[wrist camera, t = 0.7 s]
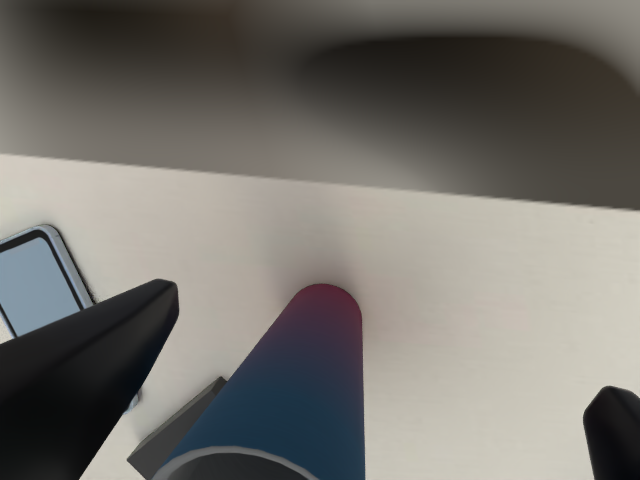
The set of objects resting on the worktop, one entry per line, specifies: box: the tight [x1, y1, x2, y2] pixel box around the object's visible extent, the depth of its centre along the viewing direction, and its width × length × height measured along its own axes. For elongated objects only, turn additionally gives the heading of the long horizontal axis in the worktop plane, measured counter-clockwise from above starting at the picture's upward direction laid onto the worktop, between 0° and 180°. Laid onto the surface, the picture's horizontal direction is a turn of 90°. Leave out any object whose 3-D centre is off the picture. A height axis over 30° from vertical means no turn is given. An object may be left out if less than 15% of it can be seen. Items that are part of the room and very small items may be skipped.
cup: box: [151, 284, 365, 480], centre depth 18 cm, size 7×7×15 cm
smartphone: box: [0, 225, 138, 414], centre depth 28 cm, size 7×1×15 cm
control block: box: [127, 377, 227, 480], centre depth 28 cm, size 11×9×4 cm
